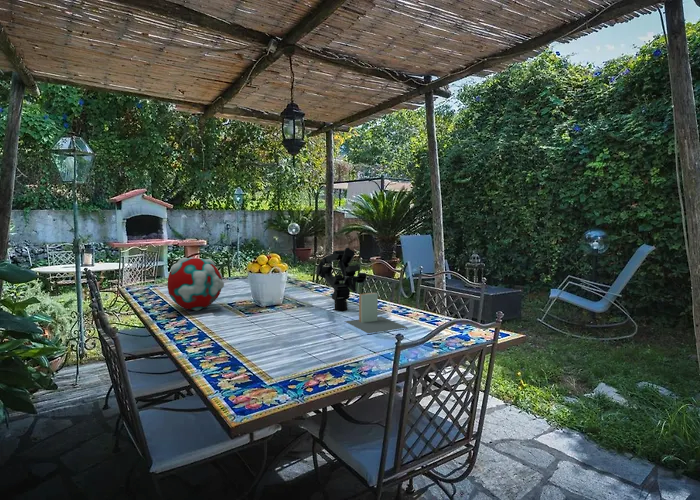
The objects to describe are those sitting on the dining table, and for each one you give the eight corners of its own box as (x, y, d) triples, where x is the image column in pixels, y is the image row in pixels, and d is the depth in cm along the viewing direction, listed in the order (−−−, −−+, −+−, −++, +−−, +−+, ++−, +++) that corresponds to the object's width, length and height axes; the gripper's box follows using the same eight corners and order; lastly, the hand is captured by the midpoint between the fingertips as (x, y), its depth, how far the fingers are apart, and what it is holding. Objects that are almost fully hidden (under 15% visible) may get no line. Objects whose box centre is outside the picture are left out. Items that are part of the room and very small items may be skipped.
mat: (344, 322, 209) (344, 321, 209) (381, 318, 219) (381, 316, 219) (368, 335, 188) (368, 333, 187) (408, 329, 198) (408, 327, 198)
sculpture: (167, 306, 246) (165, 256, 244) (220, 301, 259) (219, 254, 257) (169, 318, 218) (167, 261, 215) (228, 312, 230) (227, 258, 228)
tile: (359, 321, 209) (359, 293, 207) (374, 319, 213) (374, 292, 212) (361, 322, 206) (362, 295, 205) (377, 320, 210) (377, 293, 209)
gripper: (334, 260, 220) (344, 283, 211) (365, 258, 229) (375, 281, 220) (328, 273, 228) (337, 296, 219) (358, 271, 236) (367, 293, 228)
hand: (354, 291), depth 221 cm, fingers closed
